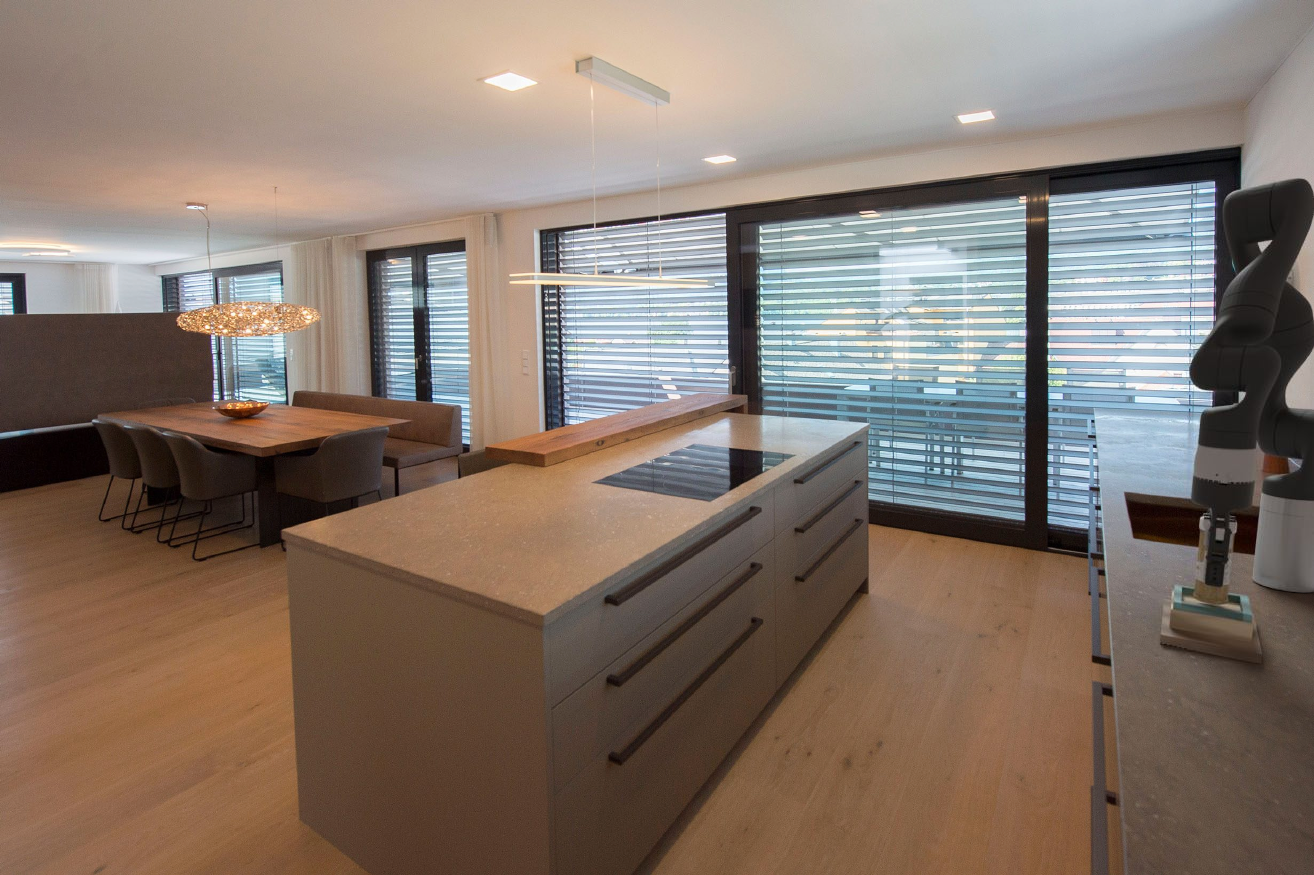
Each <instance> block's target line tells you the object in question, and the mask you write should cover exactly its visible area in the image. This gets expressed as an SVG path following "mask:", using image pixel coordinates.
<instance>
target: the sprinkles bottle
mask: <svg viewBox="0 0 1314 875" xmlns="http://www.w3.org/2000/svg"><path fill="white" fill-rule="evenodd" d="M1204 517H1209V516H1203V515H1202V516H1200V517H1199V518H1200V519H1199V525H1198V526H1199V527H1198V528H1199V541H1198V550H1197V556H1196V557H1197V558H1196V566H1195V567H1196V568H1195V576H1194V577H1195V582H1194V587H1195V588H1194V593H1193V597H1194V598H1195V599H1196V600H1199V601H1201V602H1205V603H1209V604H1216V605H1223V604H1227V603H1228V593H1229V588H1230V587H1229V586H1230V583H1231V577H1232V567H1233V557H1234V542H1235V536H1236V533H1237V529H1238V522H1237V521H1236V528H1235V530H1234V531H1233V539H1232V548H1230V549H1229V551H1228V558H1229V560H1228V562H1227V564H1225V569H1224V579H1223V586H1222V587H1215V586H1208V585H1206V584H1205V574H1206V563H1207V562H1206V559H1205V556H1206V555H1207V547H1206V546H1204V544H1203V542H1204V531H1205V528H1204V527H1203V520H1204ZM1230 520H1233V519H1230ZM1208 523H1209V529H1210V521H1209V522H1208ZM1208 540H1209V535H1208ZM1212 554H1219V555H1223V550H1216V549H1213V550H1212Z"/></svg>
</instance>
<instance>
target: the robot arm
mask: <svg viewBox="0 0 1314 875" xmlns="http://www.w3.org/2000/svg"><path fill="white" fill-rule="evenodd" d="M1313 220H1314V190H1313V188H1312V185H1311V183H1310V182H1309V181H1308V180H1307V179H1305V178H1299V177H1297V178H1289V179H1283V180H1279V181H1274V182H1269V183H1264V184H1263V183H1262V184H1260V185H1254V186H1251V187H1250V186H1249V187H1245V188H1242V189H1237V190H1234V191H1232V192H1231V193H1229V194H1228V195H1227V196H1226V197H1225V199H1224V202H1223V204H1222V223H1223V228H1224V229H1223V230H1224V233H1225V238H1226V242H1227V245H1228V250H1229V254H1230V258H1231V262H1232V265H1233V269H1234V274H1235V277H1234V279H1232V280H1231V282H1230V283H1229V285H1228V286H1227V288H1226V290H1225V292H1224V293H1223V296H1222V298H1221V303H1220V306H1219V310H1218V313H1217V314H1218V315H1217V317H1216V322H1215V324H1214V326H1213V327H1212V330H1211V331H1210V333H1209V334H1208V336H1207V337H1206V338H1205V340H1204V341H1203V342H1202V344H1200V346H1199V348H1197V350H1196V353H1195V354H1194V356H1193V357H1192V359H1191V362H1190V365H1189V372H1188V373H1189V378H1190V380H1191V383H1192V384H1193V385H1194V386H1195V387H1196V388H1198V389H1200V390H1202V391H1209V392H1230V393H1232V392H1234V393H1245V394H1244V397H1243V399H1242V400H1240V402H1238V403H1235V404H1231V405H1223V406H1222V405H1221V406H1213V407H1208V408H1206V409H1204V410H1203V411H1202V412H1201V414H1200V419H1199V427H1198V428H1199V429H1198V440H1197V447H1196V450H1195V451H1196V452H1195V456H1194V461H1193V473H1192V482H1191V492H1190V493H1191V494H1190V500H1191V502H1192V503H1194V504H1196V505H1198V506H1202V507H1208V510H1207V512H1206V513H1205V512H1204V513H1203V515H1202V517H1203V516H1209V517H1204V520H1203V527H1204V528H1205V531H1204V542H1203V544H1204V546H1206V547H1207V555H1206V556H1205V559H1206V562H1207V563H1206V574H1205V584H1206V585H1208V586H1215V587H1222V586H1223V579H1224V569H1225V564H1227V562H1228V560H1229V558H1228V551H1229V549H1230V548H1232V539H1233V531H1234V530H1235V528H1236V522H1237V519H1236V516H1233V515H1231V511H1233V510H1237V511H1240V510H1242V511H1243V510H1248V509H1250V508H1252V507H1253V501H1254V494H1255V493H1254V492H1255V483H1256V474H1257V473H1256V472H1257V465H1258V464H1257V460H1258V458H1257V444H1258V447H1259V450H1260V451H1261V452H1263V454H1266V455H1268V456H1273V457H1276V458H1277V457H1279V458H1286V459H1295V460H1302V462H1301V464H1300V466H1299V468H1298V469H1297V470H1294V471H1293V472H1289V473H1284V474H1283V473H1282V474H1274V475H1270V476H1267V477H1264V478H1263V481H1262V485H1261V495H1260V504H1259V515H1258V522H1257V532H1256V542H1255V550H1254V551H1255V552H1254V559H1253V560H1254V561H1253V570H1252V580H1253V582H1254V583H1257V584H1258V585H1262V586H1264V587H1268V588H1271V589H1274V590H1281V591H1284V592H1295V593H1314V409H1313V408H1309V409H1308V408H1296V407H1293V408H1292V407H1289V406H1288V405H1287V401H1286V400H1287V398H1286V394H1287V393H1286V391H1287V388H1288V385H1289V383H1290V381H1291V380H1292V379H1293V377H1294V375H1295V374H1296V373H1297V372H1298V370H1299V369H1300V368H1301V367H1302V366H1303V365H1304V364H1305V362H1306V361H1307V359H1308V358H1309V356H1310V355H1311V353H1312V352H1313V350H1314V312H1313V307H1312V305H1311V303H1310V302H1309V301H1308V299H1307V298H1306V297H1305V295H1303V294H1302V293H1301V292H1300V291H1299V290H1297V288H1295V287H1294V286H1293V285H1292V284H1291V283H1289V282H1288V277H1289V275H1290V272H1291V271H1292V269H1293V267H1294V265H1295V263H1296V260H1297V259H1298V257H1299V255H1300V252H1301V249H1302V247H1303V246H1304V244H1305V241H1306V238H1307V236H1308V234H1309V232H1310V230H1311V226H1312V223H1313ZM1269 241H1270V243H1268V245H1267V246H1266V247H1265V248H1264V250H1262V251H1261V248H1260V245H1259V243H1264V242H1269ZM1230 519H1233V520H1230ZM1209 521H1210V529H1209V523H1208V522H1209ZM1208 535H1209V540H1208ZM1213 549H1216V550H1223V555H1219V554H1212V550H1213Z"/></svg>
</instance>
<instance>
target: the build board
mask: <svg viewBox="0 0 1314 875" xmlns="http://www.w3.org/2000/svg"><path fill="white" fill-rule="evenodd" d="M1173 587H1174V589H1173V590H1171V598H1170V599H1168V598H1163V605H1162V606H1163V607H1162V618H1161V625H1160V626H1161V628H1160V636H1159V638H1160V640H1159V644H1160V643H1162V644H1161V645H1164V644H1167V645H1166V646H1169V645H1173V646H1172V647H1174V646H1177V647H1176V648H1179V647H1182V648H1181V649H1184V648H1187V649H1186V650H1190V651H1194V650H1195V651H1194V652H1200V653H1203V654H1208V655H1209V654H1210V655H1215V656H1219V657H1224V658H1229V659H1233V660H1234V659H1235V660H1239V661H1245V662H1249V663H1255V664H1259V665H1262V660H1263V652H1262V648H1261V646H1262V645H1261V641H1260V638H1259V633H1258V627H1257V623H1256V618H1255V614H1254V613H1252V608H1251V604H1250V599H1249V595H1246V594H1239V593H1233V592H1228V603H1227V604H1223V605H1216V604H1209V603H1205V602H1201V601H1199V600H1196V599H1195V598H1194V597H1193V593H1194V588H1195V586H1189V585H1182V584H1176V583H1175V584H1174V586H1173Z"/></svg>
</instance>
